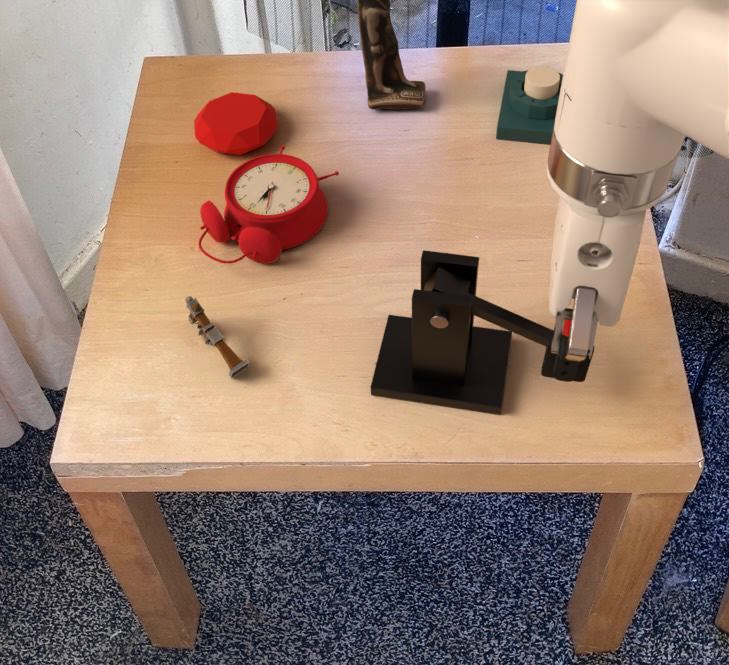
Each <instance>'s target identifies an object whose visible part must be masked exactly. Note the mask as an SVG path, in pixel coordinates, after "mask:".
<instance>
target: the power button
mask: <svg viewBox="0 0 729 665" xmlns="http://www.w3.org/2000/svg"><path fill="white" fill-rule="evenodd" d="M527 70H528V71H527ZM527 70H526V71H527V73H526V76H525V85H524V91H525V93H526V95H528V96H530V97H532V98H534V99H543V100H545V99H549V98H553V97H554V96H556V94H557V93H558V88H559V82H560V75H559V73H560V72H559V71H557V69H555V68H554V67H550V66H546V65H539V66H538V65H537V66H533V67H532V68H529V69H527ZM558 72H559V73H558Z"/></svg>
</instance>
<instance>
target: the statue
mask: <svg viewBox="0 0 729 665" xmlns="http://www.w3.org/2000/svg"><path fill="white" fill-rule="evenodd" d="M356 11H357V15H358V16H357V21H358V31H359V36H360V45H361V54H362V60H363V66H364V72H365V76H364V78H365V84H366V92H367V106H368V108H369V109H370V110H374V111H375V110H376V111H377V110H409V109H420V108H425V105H426V82H424V81H422V80H410V79H408V78H407V77H406V75H405V72H404V67H403V63H402V60H401V56H400V48H399V41H398V38H397V35H396V32H395V30H394V27H393V22H392V19H391V0H356Z"/></svg>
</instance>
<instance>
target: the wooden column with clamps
mask: <svg viewBox="0 0 729 665" xmlns="http://www.w3.org/2000/svg"><path fill="white" fill-rule="evenodd" d="M184 298H185V299H184V302H185V303H186V305H185V307H186V308H187V309H188V310H189V315H188V316H187V319H188V322H189V323H190V325H194V324H195V325H197V326H196V329H198V332H197V336H198V337H199V336H201V338H202V340H203V342H204V344H205V345H207V344H208V345H209V346H212V347H216V349H217V350H218V352H219V353H220V354H221V356H222V358H223V359H224V362H225V363H226V365H227V367H228V369H229V373H228V376H229V377H230V379H234V378H235V377H236V376H237V375H239V374H241V373H242V372H244V371H245V370H246V369H248V368H249V365H250V361H249V360H248V359H247V358H245V359H244V360H243V359H242V358H241V357H240V356H238V354H236V353H235V351H233V350H232V348H231V347H230V346H229V345H228V344H227V343H226V341H225V340H224V336H223V335H222V334H221V332H220V331H219V330H218V327H217V326H215V323H214V321H210V319H209V317H208V316H207V315H206V313H205V308H203V307H202V305H201V304H200V302H199V300H198V299H197V297H195V298H193V297H192V296H189V295H188V296H186V297H184Z"/></svg>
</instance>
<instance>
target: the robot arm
mask: <svg viewBox="0 0 729 665" xmlns="http://www.w3.org/2000/svg"><path fill="white" fill-rule="evenodd" d="M562 74H563V79H562V84H561V90H560V95H559V101H558V106H557V112H556V118H555V123H554V128H553V134H552V139H551V144H549V151H548V156H547V160H546V167H545V172H546V177H547V178H546V179H547V181H548V182H549V185H550V187H551V188H552V190H553V191H554V192H555V193H556V194H557V195H558V196H559V197H558V203H557V209H556V215H555V223H554V228H553V236H552V247H551V258H550V275H549V289H548V290H549V293H548V313H549V314H550V315H551V316H552V317H553V318H554V319H555V322H554V327H553V330H554V333H553V338H552V339H548V343H547V347H545V352H544V355H543V360H542V365H541V371H540V375H541V376H542V377H545V378H551V379H555V380H557V381H559V382H560V381H561V382H566V383H570V382H577V383H583V382H585V381H586V378H587V375H588V372H589V369H590V366H591V362H592V359H593V356H594V353H595V340H596V334H597V329H598V323H599V325H600V326H602V327H610V328H612V327H614V326H615V325H617V324H618V323H619V322H620V320H621V319H620V318H621V315H622V312H623V309H624V308H623V307H624V304H625V300H626V297H627V293H628V290H629V286H630V282H631V278H632V275H633V271H634V268H635V263H636V260H637V256H638V252H639V249H640V244H641V238H642V235H643V228H644V224H645V218H646V213H647V210H649V209H651V208H653V207H654V206H655V205H657V204H658V203H659V202H660V201H661V200H662V199H663V197H664V196H665V195H666V193H667V190H668V187H669V184H670V181H671V179H672V176H673V173H674V169H675V167H676V164H677V161H678V157H679V156H680V152H681V149H682V146H683V144H684V140H685V138H686V137H688V138H690V139H691V140H693V141H695V142H696V143H698V144H700V145H702V146H704V147H705V148H707V149H709V150H711V151H712V152H714V153H716V154H718V155H720V156H722V157H723V158H725V159H728V160H729V0H576V3H575V8H574V14H573V19H572V24H571V30H570V36H569V40H568V45H567V52H566V58H565V62H564V68H563V72H562ZM572 300H573V306H572V308H569V306H570V305H571V303H572ZM565 319H568V320H571V326H570V333H569V337H566V336H562V332H563V326H564V320H565Z"/></svg>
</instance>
